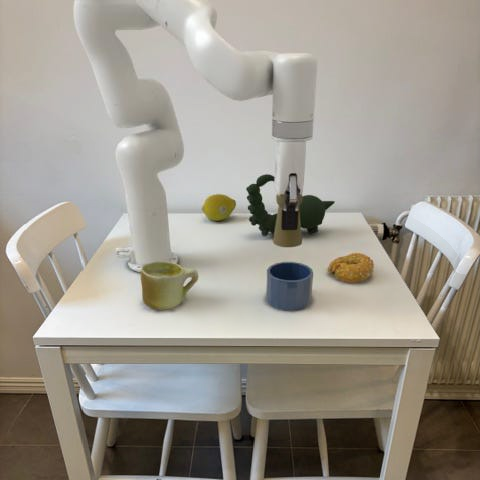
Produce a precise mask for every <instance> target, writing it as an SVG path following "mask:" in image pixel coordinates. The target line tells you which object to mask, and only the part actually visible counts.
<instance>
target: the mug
mask: <svg viewBox="0 0 480 480" xmlns="http://www.w3.org/2000/svg"><path fill="white" fill-rule="evenodd" d="M189 278H191V279H190V280H189V281H188V283H186V282H187V281H186V280H187V279H189ZM198 280H199V271H197V269H196V268H195V269H194V268H186V269H185V270H184V268H183V266H182V265H180V264H178V263H173V262H168V261H153V262H151V263H146V264H144V265H143V266H142V268H141V272H140V285H141V297H142V302H143V303H144V304H145V305H146V306H147V307H149V308H151V309H153V310H156V311H164V310H171V309H175V308H177V307H178V306H180V305H181V304H182V303H183V301H184V299H185V298H186V296H187V294H188V292H189V290H191V289H192V288H193V287H194V286H195V284H197V282H198ZM185 283H186V284H185Z"/></svg>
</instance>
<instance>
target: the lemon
mask: <svg viewBox="0 0 480 480" xmlns="http://www.w3.org/2000/svg"><path fill="white" fill-rule="evenodd" d="M236 206H237V201H236V200H235V199H233V198H231V197H229V196H228V195H225V194H221V193H216V194H212V195H209V196H208V197H206V198H205V200H204V202H203V205H202V207H201V211H202V212H203V213H204V215H205V217H206V218H207V219H208V220H209V221H214V222H220V221H223V220H226V219H227V218H229V216H231V215H232V213H233V212H234V210H235V209H236Z"/></svg>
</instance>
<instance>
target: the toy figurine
mask: <svg viewBox="0 0 480 480" xmlns="http://www.w3.org/2000/svg"><path fill="white" fill-rule="evenodd" d="M274 180H275V175H273V174H270V173H269V174H267V173H266V174H261V175H259V177H257V179H256V182H255V183H251V184H250V185H248V186H246V188H245V190H246V192H247V194H248V195H247V196H246V199H247V201H248V203H249V205H247V210H248V211H249V214H251V215H250V216H249V218H248V221H249V223H250V225H251V226H253V227H255V226H258V230H259V232H261V235H262V236H263V237H267V236H269V233H271V234H272V235H274V232H275V226H276V220H277V213H278V212H276V213H273V214H271V213H269V212H268V210H266V206H265V204H264V201H263V195H262V193H261V188H262V187H264V186H265V185H266V184H267V183H269V182H274ZM260 187H261V188H260ZM302 196H303V199H302V203H301V204H300V206H299V210H300V222H301V229H304V230H306V231H307V232H308V233H309V234H312V235H315V234H317V232H319V226H320V225H322V224H323V221H324V219H325V215H326V211H327V210H328V209H329V208H330V207H332V206H333V205H334V204H335V200H322V199H321V198H320V197H318V196H315V195H312V194H306V195H302Z"/></svg>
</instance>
